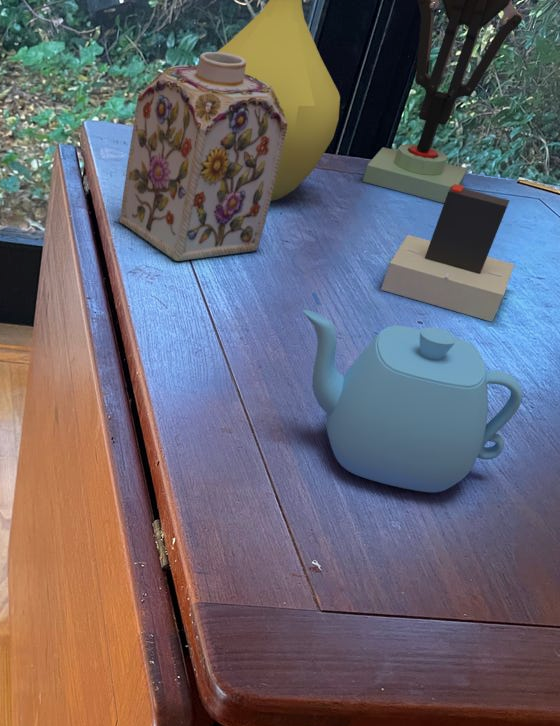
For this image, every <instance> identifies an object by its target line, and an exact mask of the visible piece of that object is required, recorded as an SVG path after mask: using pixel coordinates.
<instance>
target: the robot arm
mask: <svg viewBox="0 0 560 726" xmlns="http://www.w3.org/2000/svg"><path fill="white" fill-rule="evenodd" d="M417 5H418V9H419V14H420V26H419V36H418V46H417V47H418V48H417V58H416V66H415V67H416V68H415V77H414V82H415V84H416V85H418V86H421V87H422V88H423V89H424V91H425V95H424V98H423V101H422V103H421V108H420V109H419V113H418V119H419V120H422V121H424V125H423V128H422V131H421V134H420V137H419V141H418V143H417V145H418V146H417V150H421V151H425V152H428V151H429V149H430V148H432V145H433V142H434V140H435V137H436V133H437V131H438V127H439V125H441V126H446V124H447V123H448V122H449V120H450V119H451V116H452V113H453V111H454V107H455V104H456V101H457V99H459V98H461V97H469V96H472V94H473V93H474V92H475V90H476V89H477V87H478V86H479V84H480V83H481V80H482V79H483V77H484V75H485V74H486V72H487V71H488V69H489V67H490V65H491V64H492V62H493V61H494V59H495V57H496V56H497V54H498V52H499V50H500V49H501V47H502V45H503V44H504V42H505V40H506V39H507V38H508V36H509V35H510V34H511V33H512V32H513V31H514V30H515V29H516V28H517V27H519V26H520V24H521V23H522V22H523V20H524V13H522V12H520V11H518V9H516V7H515V6H514V4H513V3H512V0H442V5H443V7H444V12H445V15H446V18H447V20H448V22H447V25H446V28H445V32H444V36H443V38H442V42H441V45H440V48H439V51H438V53H437V57H436V59H435V63H434V66H433V69H432V72H431V75H430V74H429V71H430V62H431V52H432V43H433V34H434V26H435V25H434V23H435V11H436V10H437V9H438V8H439V5H440V0H417ZM501 12H503V15H502V17H501V18H500V19H499V20H500V21H499V25H500V26H501V27H500V28H499V30H498V31H497V33H496V34H495V35H494V37H493V39H492V40H491V42H490V44H489V46H488V47H487V49H486V51H485V52H484V54H483V56H482V57H481V59H480V61H479V62H478V63H477V66H476V68H475V69H474V71H473V73H472V74H471V76H470V77H469V79H468V81H467V82H466V83H464V79H465V76H466V74H467V71H468V67H469V66H470V65H469V64H470V62H471V59H472V56H473V53H474V49H475V47H476V43H477V42H478V39H479V35H480V34H481V30H482V28H483V27H485V26H486V25H488V24H489V23H490V22H491V21H492V20H493V19H495V18H496V16H498V15H499V14H500V13H501ZM461 26H466V27H468V28H467V31H466V34H465V38H464V42H463V45H462V47H461V51H460V52H459V57H458V60H457V62H456V65H455V69H454V71H453V74H452V77H451V81H450V83H449V86H448V89H447V92H442V91H439V88H440V87H441V83H442V81H443V77H444V74H445V72H446V69H447V65H448V63H449V59H450V57H451V54H452V50H453V48H454V45H455V42H456V39H457V36H458V32H459V30H460V28H461Z"/></svg>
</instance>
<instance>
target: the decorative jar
mask: <svg viewBox="0 0 560 726" xmlns="http://www.w3.org/2000/svg"><path fill="white" fill-rule="evenodd" d="M245 67H246V61H245V59H243V58H242V57H240V56H237V55H233V54H229V53H223V52H218V51H206V52H203V53H201V54H200V55H199V58H198V65H196V64H195V65H191V64H188V65H185V64H184V65H183V64H181V65H172V66H170V67H168V68H167V69H165V70H164V71H163V72H161V73H160V74H158V75H157V76H155V77H154V78H153V79H152V81H151V82H150V83H149V84H147V85H146V86H145V87H144V89H143V90H142V91H141V92H140V93H139V94H138V96H137V100H136V108H135V113H134V121H133V126H132V133H131V138H130V139H131V140H130V144H129V145H130V147H129V152H128V157H127V165H126V171H125V179H124V186H123V192H122V202H121V210H120V217H119V222H120V223H121V224H122V225H124V226H125V227H127V228H129V229H130V230H131V231H132V232H134V233H135V234H137V235H138V236H139V237H141V238H142V239H144V240H145V241H147V242H148V243H150V244H151V245H152V246H153V247H155V248H156V249H158V250H159V251H161V252H162V253H163V254H165V255H167V257H169V258H171V259H172V260H173V261H176V262H182V261H188V260H196V259H203V258H210V257H211V258H212V257H220V256H226V255H227V256H229V255H236V254H244V253H250V252H255V251H257V250H258V249H259V247H260V244H261V241H262V236H263V232H264V230H265V229H264V228H265V225H266V222H267V217H268V213H269V209H270V205H271V202H272V201H271V197H272V192H273V188H274V184H275V179H276V175H277V171H278V167H279V162H280V157H281V153H282V148H283V144H284V140H285V135H286V132H287V126H288V125H287V121H286V119H285V115H284V112H283V109H282V108H281V106H280V103H279V101H278V98H277V97H276V95H275V92H274V90H273V88H272V86H270V85H268V84H266V83H264V82H262V81H260V80H258V79H256V78H254V77H251V76H249V75H246V74H244V73H245Z"/></svg>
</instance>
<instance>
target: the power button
mask: <svg viewBox="0 0 560 726" xmlns="http://www.w3.org/2000/svg"><path fill="white" fill-rule="evenodd" d="M409 152H410V153H412V154H414V155H417V156H421V157H424V158H436V155H437V152H436V151H434V150H432V149H429V151H428V152H425V151H421V150H417V146H412V147H410V150H409Z"/></svg>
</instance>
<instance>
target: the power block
mask: <svg viewBox="0 0 560 726" xmlns="http://www.w3.org/2000/svg"><path fill="white" fill-rule="evenodd" d="M412 146H418V144H411V143H408V144H400V146H399V147H398V148H397V149H396V150H395V149H393V148H387V147H381V149H380V150H379V151H378V152H377V153H376V154H375V156H373V158H372V159H371V160H370V161H369V163H367V165H366V168H365V171H364V175H363V178H362V183H366V184H369V185H374V186H377V187H381V188H385V189H388V190H392V191H396V192H400V193H404V194H408V195H411V196H415V197H418V198H423V199H427V200H430V201H434V202H438V203H441V204H444V203H445V200H446V197H447V194H448V191H449V190H450V188H451V186H454V184H457V185H461V186H463V183H464V180H465V178H466V176H467V172H468V168H466V167H462V166H458V165H455V164H451V163H447V161H448V156H447V155H446V154H445V153H444V152H443V151H440V150H438V149H436V148H433V147H431V148H430V149H432V150H434V151H436V152H437V155H436V158H424V157H421V156H417V155H414V154H412V153H410V152H409V150H410V147H412Z"/></svg>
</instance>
